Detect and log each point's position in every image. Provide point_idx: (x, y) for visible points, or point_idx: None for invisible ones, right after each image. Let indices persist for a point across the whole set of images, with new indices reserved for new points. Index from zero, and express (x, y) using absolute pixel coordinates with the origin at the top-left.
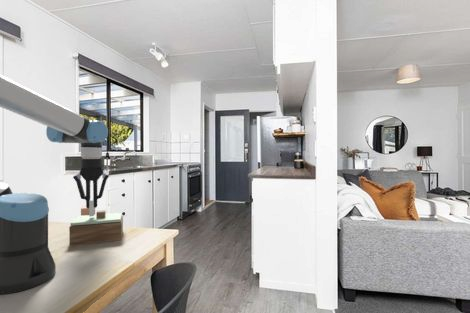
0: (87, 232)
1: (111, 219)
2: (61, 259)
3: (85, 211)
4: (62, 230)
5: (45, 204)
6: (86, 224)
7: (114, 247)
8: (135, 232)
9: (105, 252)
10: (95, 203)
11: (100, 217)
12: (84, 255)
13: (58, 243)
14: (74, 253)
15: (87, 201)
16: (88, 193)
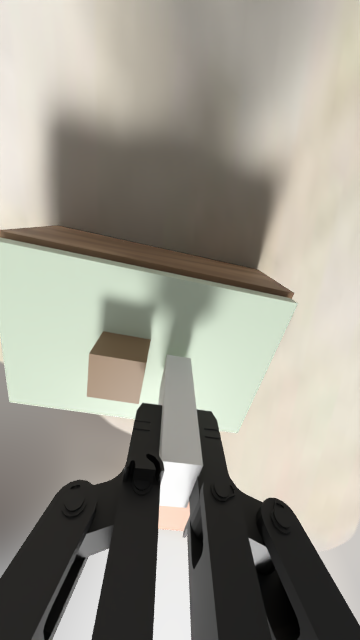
0: (200, 264)
1: (55, 266)
2: (316, 82)
3: None
4: (250, 438)
5: None
6: None
7: (86, 122)
8: None
9: (128, 56)
10: (144, 433)
11: (127, 338)
12: (223, 76)
13: None
14: (256, 145)
15: (215, 465)
16: (226, 593)
